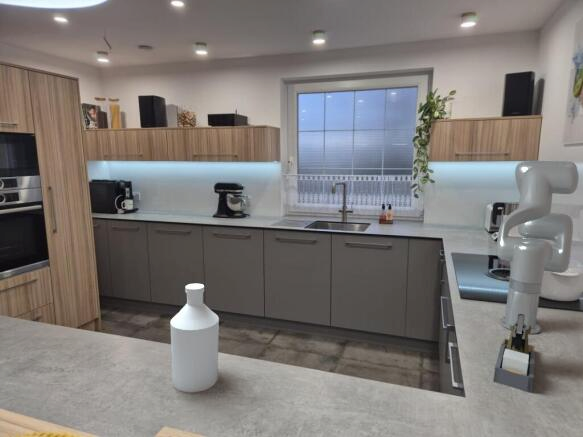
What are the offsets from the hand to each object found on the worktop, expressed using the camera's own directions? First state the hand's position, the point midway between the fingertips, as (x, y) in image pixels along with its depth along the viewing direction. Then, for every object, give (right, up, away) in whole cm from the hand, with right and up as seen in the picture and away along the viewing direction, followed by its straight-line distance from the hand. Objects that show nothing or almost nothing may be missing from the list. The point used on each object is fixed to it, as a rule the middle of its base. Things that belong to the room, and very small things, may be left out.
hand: (517, 347), depth 106 cm
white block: (-5, -7, -6) cm, 10 cm away
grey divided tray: (-3, -6, -3) cm, 7 cm away
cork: (0, -3, 0) cm, 3 cm away
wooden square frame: (+5, -5, +9) cm, 11 cm away
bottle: (-90, -5, -10) cm, 91 cm away
